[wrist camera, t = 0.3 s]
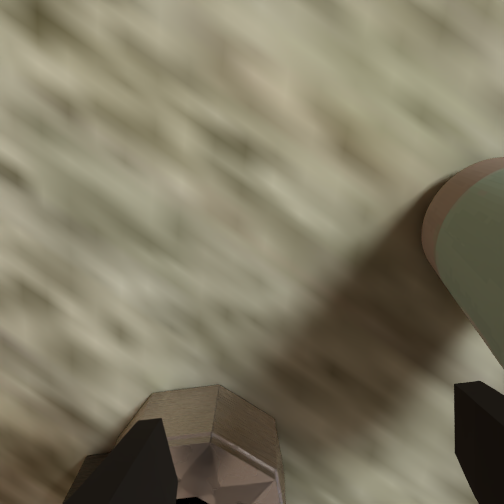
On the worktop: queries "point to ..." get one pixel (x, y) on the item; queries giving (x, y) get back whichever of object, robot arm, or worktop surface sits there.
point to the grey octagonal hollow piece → (213, 447)
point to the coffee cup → (471, 246)
